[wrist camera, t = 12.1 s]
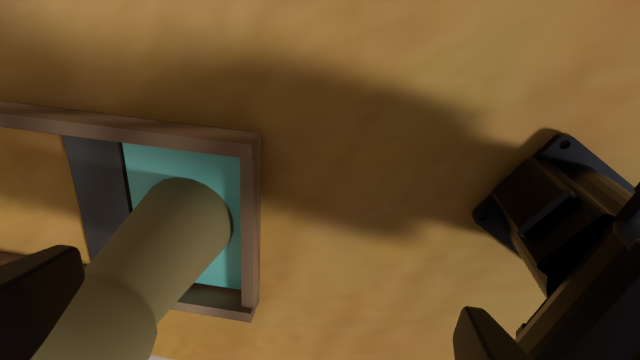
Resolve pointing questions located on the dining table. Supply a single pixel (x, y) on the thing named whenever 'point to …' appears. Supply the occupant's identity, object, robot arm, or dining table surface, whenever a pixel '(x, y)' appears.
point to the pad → (208, 169)
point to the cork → (142, 274)
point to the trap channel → (114, 195)
